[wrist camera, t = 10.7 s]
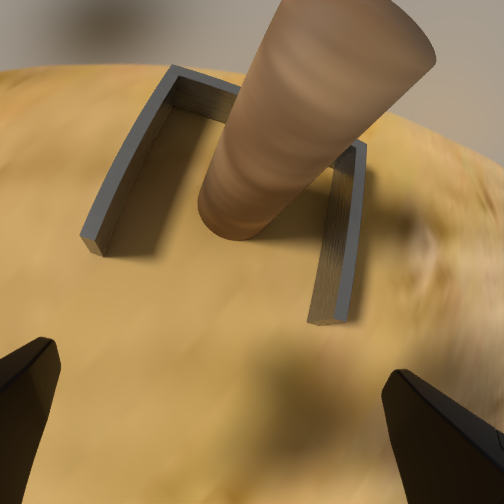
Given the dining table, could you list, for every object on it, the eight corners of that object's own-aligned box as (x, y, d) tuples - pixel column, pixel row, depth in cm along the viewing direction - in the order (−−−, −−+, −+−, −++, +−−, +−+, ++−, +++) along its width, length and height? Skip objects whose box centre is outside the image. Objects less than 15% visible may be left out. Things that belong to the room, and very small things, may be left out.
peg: (283, 210, 20) (449, 54, 7) (234, 255, 18) (407, 87, 5) (235, 160, 20) (346, -32, 7) (182, 199, 18) (259, -30, 5)
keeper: (318, 325, 19) (383, 316, 13) (90, 252, 16) (64, 210, 10) (344, 159, 23) (393, 115, 17) (169, 90, 20) (182, 24, 14)
